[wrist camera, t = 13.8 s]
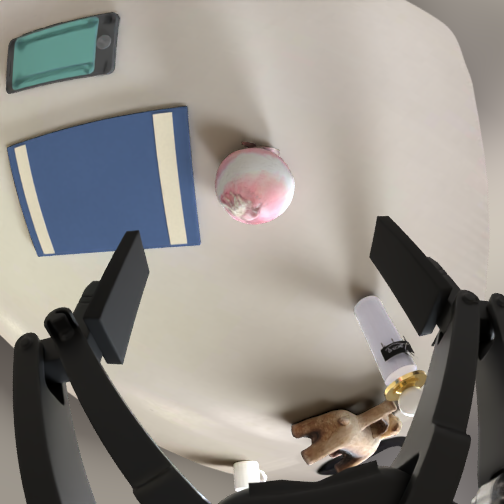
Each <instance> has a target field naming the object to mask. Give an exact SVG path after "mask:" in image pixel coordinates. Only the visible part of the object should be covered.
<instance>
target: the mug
mask: <svg viewBox="0 0 504 504" xmlns="http://www.w3.org/2000/svg"><path fill="white" fill-rule="evenodd" d="M233 467H234V483H235V490H236V491H240V490H243V489H246V488H249V484H248V483H254V482H265V481H266V478H267V476H266V474H265V473H264V471H262V470H259V469H258V463H257V462H254V461H241V462H236V463H234V465H233ZM259 472H260V473H261V474H262V476H263V479H262V480H261V481H260V479H259Z"/></svg>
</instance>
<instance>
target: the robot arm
mask: <svg viewBox="0 0 504 504" xmlns="http://www.w3.org/2000/svg"><path fill="white" fill-rule="evenodd" d="M370 259H371V260H372V262H373V263H374V265H375V266H376V268H377V269H378V271H379V272H380V274H381V275H382V277H383V278H384V280H385V281H386V283H387V284H388V286H389V287H390V289H391V290H392V292H393V294H394V295H395V297H396V298H397V300H398V302H399V303H400V305H401V306H402V308H403V310H404V311H405V313H406V315H407V316H408V318H409V320H410V321H411V323H412V325H413V326H414V328H415V330H416V331H417V333H418V335H419V336H423V335H427V334H431V333H432V332H433V330H434V328H435V326H436V324H437V325H438V327H439V329H440V330H439V332H438V334H437V336H436V338H435V340H434V342H433V344H432V345H431V346H434V344H435V347H434V351H433V355H432V359H431V363H430V367H429V371H428V374H427V378H426V381H425V384H424V388H423V391H422V394H421V397H420V400H419V403H418V406H417V409H416V412H415V415H414V418H413V421H412V423H411V426H410V429H409V431H408V434H407V436H406V439H405V441H404V444H403V446H402V448H401V451H400V453H399V454H398V456H397V458H396V459H395V460H394V462H393V463H392V465H391V466H390V467H387V466H378V465H377V462H376V460H375V461H372V462H369V463H365V464H362V465H357V466H353V467H349V468H346V469H344V470H342V471H340V472H338V473H336V474H334V475H332V476H330V477H328V478H325V479H323V480H321V481H318V482H302V481H289V480H276V481H266V482H254V483H248V484H249V488H246V489H243V490H240V491H238V492H235V493H233V494H231V495H230V496H228V497H226V498H225V499H224V500H222V501H221V502H220V503H218V504H457V503H455V502H453V499H454V496H455V493H456V490H457V488H458V485H459V482H460V479H461V475H462V472H463V469H464V466H465V462H466V458H467V455H468V451H469V447H470V442H471V437H470V435H467V434H466V428H467V424H468V419H469V414H470V409H471V404H472V398H473V392H474V385H475V380H476V389H477V390H476V391H477V405H478V435H479V436H478V437H479V438H478V439H479V440H478V441H479V442H478V487H479V491H478V492H477V495H476V496H475V497H474V498H473V499H472V501H471V504H504V296H503V295H502V294H498V293H494V294H492V295H491V297H490V299H489V301H479V299H478V297H477V296H476V295H475V294H474V293H472V292H470V291H467V290H460V288H459V287H458V286H457V285H456V283H455V282H454V281H453V280H452V279H451V277H450V276H449V275H447V273H446V272H445V270H443V268H442V267H441V266H440V265H439V264H438V262H436V261H435V260H433V259H432V258H430V257H426V256H425V254H424V253H423V252H422V251H421V250H420V249H419V248H418V247H417V246H416V244H415V243H414V242H413V241H412V240H411V239H410V238H409V237H408V236H407V235H406V234H405V233H404V232H403V231H402V229H401V228H400V227H399V226H398V225H397V224H396V223H395V222H394V221H393V220H392V219H391V218H390V217H389V216H377V221H376V226H375V232H374V237H373V242H372V247H371V252H370ZM148 275H149V268H148V264H147V260H146V256H145V252H144V248H143V244H142V240H141V236H140V231H139V230H135V231H126V233H125V234H124V236H123V238H122V240H121V242H120V243H119V245H118V247H117V249H116V251H115V253H114V255H113V256H112V258H111V260H110V262H109V264H108V266H107V268H106V270H105V272H104V274H103V276H102V278H101V280H100V281H93V282H91V283H90V284H89V285H88V286H87V287H86V288H85V290H84V292H83V294H82V297H81V298H80V300H79V303H78V304H77V306H76V308H75V310H74V312H73V313H72V311H71V310H70V309H69V308H65V307H62V308H58V309H55V310H53V311H52V312H50V313H49V314H48V315H47V317H46V318H45V321H44V326H45V328H46V330H47V332H48V333H49V335H50V336H51V338H47V339H43V340H40V339H39V338H38V336H37V335H36V334H35V333H26V334H24V335H22V336H21V337H20V338H19V339H18V340H17V342H16V343H15V347H14V363H13V412H14V427H15V438H16V448H17V455H18V462H19V468H20V474H21V480H22V485H23V489H24V493H25V498H26V502H27V504H96V502H95V499H94V496H93V493H92V491H91V488H90V485H89V482H88V479H87V475H86V472H85V469H84V466H83V463H82V459H81V455H80V451H79V447H78V443H77V440H76V436H75V431H74V427H73V422H72V417H71V412H70V407H69V401H68V394H67V388H66V382H69V381H70V382H71V385H72V387H73V389H74V391H75V393H76V395H77V397H78V399H79V401H80V403H81V405H82V407H83V409H84V411H85V413H86V415H87V416H88V418H89V420H90V422H91V424H92V426H93V428H94V429H95V431H96V433H97V434H98V436H99V438H100V440H101V441H102V443H103V445H104V446H105V448H106V449H107V451H108V453H109V454H110V455H111V457H112V459H113V460H114V462H115V463H116V465H117V466H118V468H119V469H120V470H121V472H122V473H123V475H124V476H125V478H126V479H127V480H128V482H129V483H130V485H131V486H132V488H133V493H134V495H135V497H136V498H137V500H138V501H139V502H140V504H211V503H210V502H209V501H208V500H207V499H206V498H205V497H204V496H203V495H202V494H201V493H200V492H199V491H198V490H197V489H196V488H195V487H194V486H193V485H192V484H191V483H190V482H189V481H188V480H187V479H186V478H185V477H184V476H183V475H182V473H180V471H179V470H178V469H177V468H176V467H175V466H174V464H173V463H172V462H171V461H170V460H169V459H168V458H167V457H166V455H165V454H164V453H163V452H162V450H161V449H160V448H159V447H158V446H157V444H156V443H155V442H154V441H153V439H152V438H151V437H150V435H149V434H148V433H147V432H146V430H145V429H144V428H143V426H142V425H141V424H140V422H139V421H138V420H137V418H136V417H135V415H134V414H133V413H132V411H131V410H130V408H129V407H128V406H127V404H126V403H125V401H124V400H123V398H122V397H121V395H120V394H119V392H118V391H117V389H116V388H115V386H114V385H113V383H112V381H111V380H110V378H109V377H108V375H107V373H106V372H105V370H104V368H103V367H102V365H101V363H100V361H101V358H102V355H103V357H104V359H105V361H106V362H107V364H123V362H124V358H125V354H126V350H127V346H128V342H129V339H130V335H131V331H132V328H133V324H134V321H135V317H136V314H137V310H138V307H139V304H140V300H141V297H142V294H143V291H144V288H145V284H146V281H147V278H148ZM493 338H494V339H493Z"/></svg>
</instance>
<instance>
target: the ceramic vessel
mask: <svg viewBox="0 0 504 504" xmlns="http://www.w3.org/2000/svg"><path fill="white" fill-rule="evenodd" d="M396 410H397V407H396V404H395V403H394V401H388V400H386V401H384V402H383V403H381V404H379V405H377V406H375V407H373V408H371V409H369V410H367V411H366V412H364V413H362V414H360V415H355V414H353V413H351V412H349V411H346V410H334V411H330V412H328V413H325V414H322V415H320V416H317V417H313V418H310V419H307V420H304V421H302V422H299V423H297V424H293V425H292V429H291V431H292V435H293V437H295V438H301V437H307V438H310V439H311V440H312V445H311V446H310V447H308V448H307V449H305V450H303V451H302V452H301V455H302V457H303V459H304V460H305V462H306V463H307V464H308V465H312V464H313V463H315V462H317V461H319V460H321V459H322V458H324V457H326V456H328V455H329V456H330V457H332V458H334V457H337V456H339V455H341V454H342V455H343V458H342V459H341V461H340V462H338V463H337V464H335V466H334V469H335V471H336V472H337V473H338V472H340V471H342V470H344V469H346V468H349V467H353V466H357V465H358V464H360V463H361V462H363V461H364V460H366V459H367V458H369V457H370V456H371V455H372V454H373V453H374V452H375V451H376V449H377V447H378V445H379V443H380V440H382V439H383V438H385V437H389V436H392V435H396V434H398V433H399V432H400V430H401V427H402V422H401V421H400V420H399V418H398V417H396V416H394V415H393V414H392V412H394V411H396Z"/></svg>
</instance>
